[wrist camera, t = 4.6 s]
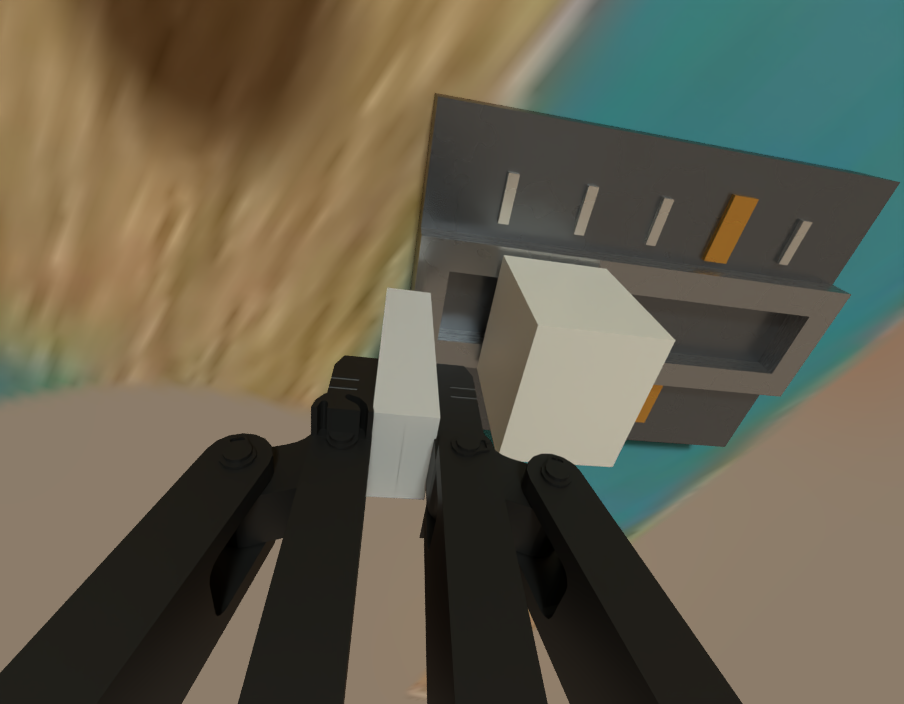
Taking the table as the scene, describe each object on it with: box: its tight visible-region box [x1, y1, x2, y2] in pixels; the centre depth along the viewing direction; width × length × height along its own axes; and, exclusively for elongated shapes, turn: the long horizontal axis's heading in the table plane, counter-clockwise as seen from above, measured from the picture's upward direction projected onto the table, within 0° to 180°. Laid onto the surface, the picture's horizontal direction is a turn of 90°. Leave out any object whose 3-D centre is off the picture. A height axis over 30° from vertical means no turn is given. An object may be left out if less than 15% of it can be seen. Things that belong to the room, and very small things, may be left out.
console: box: [410, 93, 900, 447], centre depth 20 cm, size 18×14×3 cm
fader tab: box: [477, 255, 675, 467], centre depth 16 cm, size 4×5×6 cm
